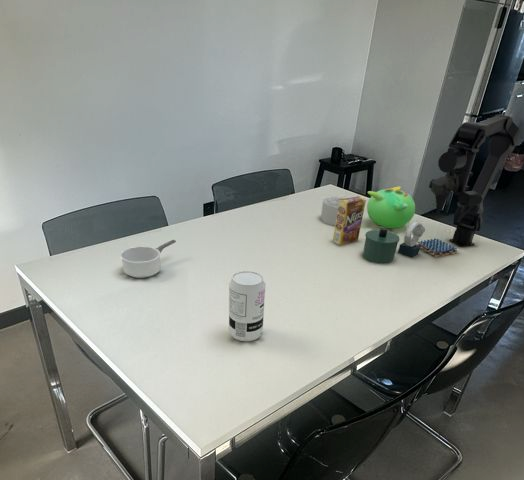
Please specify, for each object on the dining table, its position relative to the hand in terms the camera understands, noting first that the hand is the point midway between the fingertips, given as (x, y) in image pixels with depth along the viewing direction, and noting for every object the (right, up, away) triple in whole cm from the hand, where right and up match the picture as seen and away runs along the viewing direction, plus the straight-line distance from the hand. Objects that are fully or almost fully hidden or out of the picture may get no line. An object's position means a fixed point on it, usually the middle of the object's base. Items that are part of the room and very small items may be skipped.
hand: (447, 217), depth 151 cm
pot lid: (-22, -7, -1) cm, 23 cm away
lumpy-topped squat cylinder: (-32, +7, +30) cm, 44 cm away
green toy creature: (-12, +4, +28) cm, 31 cm away
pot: (-22, -13, +3) cm, 26 cm away
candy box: (-31, -5, +13) cm, 34 cm away
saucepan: (-95, -19, -11) cm, 97 cm away
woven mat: (0, -9, +11) cm, 14 cm away
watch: (-11, -11, +7) cm, 17 cm away
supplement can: (-65, -40, -39) cm, 86 cm away
